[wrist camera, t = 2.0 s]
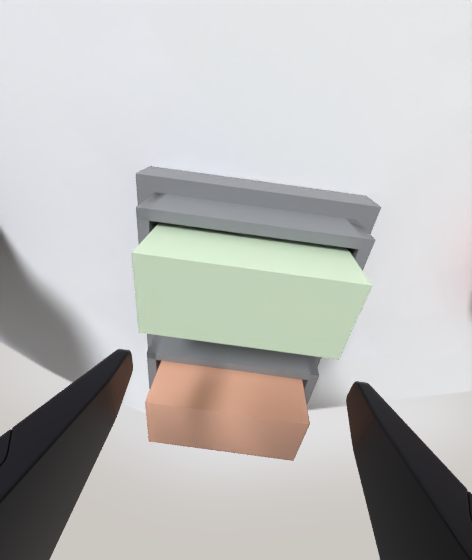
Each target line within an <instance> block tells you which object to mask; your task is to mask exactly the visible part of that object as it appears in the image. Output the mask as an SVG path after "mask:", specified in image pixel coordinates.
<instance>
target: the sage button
mask: <svg viewBox="0 0 472 560" xmlns="http://www.w3.org/2000/svg"><path fill="white" fill-rule="evenodd" d="M132 262H133V273H134V284H135V295H136V306H137V317H138V328H139V333H146V334H153V335H161V336H168V337H176V338H183V339H190V340H198V341H205V342H213V343H220V344H227V345H235V346H242V347H250V348H257V349H264V350H272V351H279V352H287V353H294V354H301V355H309V356H316V357H324V358H331V359H338V360H339V358H340V356H341V354H342V351H343V349H344V347H345V345H346V343H347V340H348V338H349V336H350V334H351V332H352V329H353V327H354V325H355V323H356V320H357V318H358V316H359V314H360V312H361V309H362V307H363V305H364V303H365V300H366V298H367V296H368V294H369V292H370V289H371V287H372V284H371V283H370V281H369V280H368V278H367V277H366V275H365V274H364V272H363V271H362V269H361V268H360V267H359V265H358V264H357V262H356V261H355V259H354V258H353V256H352V255H351V253H350V252H349V250H348V249H347V248H346V247H338V246H331V245H324V244H316V243H309V242H302V241H294V240H287V239H280V238H273V237H265V236H258V235H251V234H243V233H236V232H229V231H221V230H214V229H207V228H199V227H192V226H185V225H177V224H170V223H163V222H159V223H158V224H157V225H156V227H155V228H154V229H153V230H152V231H151V232H150V233H149V234H148V235H147V236H146V237H145V239H144V240H143V241H142V242H141V243H140V244H139V245H138V246H137V247H136V248H135V250H134V251H133V252H132Z"/></svg>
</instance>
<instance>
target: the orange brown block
mask: <svg viewBox="0 0 472 560" xmlns="http://www.w3.org/2000/svg"><path fill="white" fill-rule="evenodd" d="M145 405H146V416H147V427H148V438H149V441H150V442H158V443H165V444H172V445H180V446H187V447H195V448H202V449H210V450H217V451H225V452H233V453H240V454H247V455H255V456H263V457H271V458H278V459H285V460H292V461H293V460H294V458H295V456H296V454H297V451H298V449H299V447H300V445H301V442H302V440H303V438H304V436H305V434H306V431H307V429H308V427H309V425H310V422H309V416H308V411H307V405H306V399H305V393H304V387H303V381H302V379H296V378H288V377H281V376H273V375H266V374H258V373H251V372H244V371H236V370H229V369H221V368H214V367H207V366H199V365H192V364H184V363H177V362H169V361H162V360H161V363H160V365H159V368H158V371H157V373H156V376H155V378H154V381H153V383H152V386H151V388H150V391H149V394H148V396H147V399H146V401H145Z"/></svg>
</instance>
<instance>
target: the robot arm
mask: <svg viewBox="0 0 472 560" xmlns="http://www.w3.org/2000/svg"><path fill="white" fill-rule="evenodd" d="M132 371H133V363H132V354H131V351H129V350H124V349H118V350H116V351H115V352H113V353H112V354H111V355H109V356H108V357H107V358H105V359H104V360H103V361H101V362H100V363H99V364H97V365H96V366H95V367H93V368H92V369H91V370H89V371H88V372H87V373H85V374H84V375H83V376H81V377H80V378H79V379H77V380H76V381H74V382H73V383H72V384H70V385H69V386H68V387H66V388H65V389H64V390H62V391H61V392H60V393H58V394H57V395H56V396H54V397H53V398H52V399H50V400H49V401H48V402H46V403H45V404H44V405H42V406H41V407H40V408H38V409H37V410H36V411H34V412H33V413H32V414H30V415H29V416H28V417H26V418H25V419H24V420H22V421H21V422H19V423H18V424H17V425H15V426H14V427H13V428H12V430H9V431H7V432H6V433H5V434H3V435H2V436H1V437H0V560H49V559H50V557H51V555H52V553H53V551H54V549H55V547H56V544H57V542H58V540H59V538H60V536H61V534H62V532H63V529H64V527H65V525H66V523H67V521H68V519H69V517H70V514H71V513H72V511H73V508H74V506H75V504H76V502H77V500H78V498H79V496H80V493H81V492H82V489H83V487H84V485H85V483H86V481H87V479H88V477H89V475H90V472H91V470H92V468H93V466H94V464H95V462H96V460H97V458H98V456H99V453H100V451H101V449H102V447H103V445H104V442H105V441H106V439H107V436H108V434H109V432H110V430H111V428H112V426H113V424H114V422H115V419H116V417H117V414H118V411H119V409H120V406H121V403H122V400H123V397H124V395H125V392H126V389H127V386H128V383H129V380H130V377H131V375H132ZM346 403H347V410H348V417H349V425H350V432H351V439H352V445H353V451H354V455H355V459H356V463H357V467H358V471H359V475H360V479H361V484H362V487H363V492H364V496H365V499H366V504H367V508H368V511H369V515H370V520H371V524H372V528H373V532H374V536H375V540H376V544H377V548H378V552H379V556H380V560H472V494H471V493H470V492H467V489H466V487H465V486H464V485H463V484H462V483H461V482H460V481H459V480H458V479H457V478H456V477H455V476H454V475H453V473H451V471H450V470H449V469H448V468H447V467H446V466H445V465H444V464H443V463H442V462H441V461H440V460H439V458H438V457H437V456H436V455H435V454H434V453H433V452H432V451H431V450H430V449H429V448H428V447H427V446H426V444H424V442H423V441H422V440H421V439H420V438H419V437H418V436H417V435H416V434H415V433H414V432H413V431H412V430H411V428H410V427H409V426H408V425H407V424H406V423H405V422H404V421H403V420H402V419H401V418H400V417H399V416H398V415H397V413H396V412H395V411H394V410H393V409H392V408H391V407H390V406H389V405H388V404H387V403H386V402H385V401H384V399H383V398H382V397H381V396H380V395H379V394H378V393H377V392H376V391H375V390H374V389H373V388H372V387H371V386H370V385H369V384H368V383H365V382H358V381H356V382H355V383H354V384H353V386H352V387H351V389H350V391H349V393H348V395H347V399H346Z"/></svg>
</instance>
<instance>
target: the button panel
mask: <svg viewBox="0 0 472 560" xmlns="http://www.w3.org/2000/svg"><path fill="white" fill-rule="evenodd" d="M136 185H137V199H138V206H137V207H136V214H137V227H138V241H139V244H140V243H141V242H142V241H143V240H144V239H145V237H146V236H147V235H148V234H149V233H150V232H151V231H152V230H153V229H154V228H155V227H156V225H157V224H158V223H159V222H163V223H170V224H177V225H185V226H192V227H199V228H207V229H214V230H221V231H229V232H236V233H243V234H251V235H258V236H265V237H273V238H280V239H287V240H294V241H302V242H309V243H316V244H324V245H331V246H338V247H346V248H347V249H348V250H349V252H350V253H351V255H352V256H353V258H354V259H355V261H356V262H357V264H358V265H359V267H360V268H361V269H362V271H363V268H364V266H365V264H366V261H367V259H368V256H369V254H370V252H371V249H372V247H373V244H374V242H375V239H374V238H373V237H372V236H371V235H370V234H371V231H372V229H373V226H374V224H375V221H376V219H377V216H378V214H379V211H380V209H381V207H380V206H379V205H378V204H376V203H375V202H373V201H372V200H371V199H369V198H368V197H367V196H363V195H355V194H348V193H341V192H333V191H326V190H319V189H312V188H304V187H297V186H290V185H283V184H275V183H268V182H261V181H253V180H246V179H239V178H232V177H224V176H217V175H210V174H202V173H195V172H188V171H181V170H173V169H166V168H159V167H152V166H150V167H148V168H146V169H144V170H142V171H140V172H138V173H136ZM147 341H148V351H147V361H148V375H149V388H151V386H152V383H153V381H154V378H155V376H156V373H157V371H158V368H159V365H160V363H161V360H162V361H169V362H177V363H184V364H192V365H199V366H207V367H214V368H221V369H229V370H236V371H244V372H251V373H258V374H266V375H273V376H281V377H288V378H296V379H302V381H303V387H304V393H305V399H306V405H307V403H308V401H309V399H310V396H311V394H312V391H313V389H314V387H315V384H316V382H317V379H318V377H319V373H318V369H317V366H318V364H319V361H320V359H321V357H316V356H309V355H301V354H294V353H287V352H279V351H272V350H264V349H257V348H250V347H242V346H235V345H227V344H220V343H213V342H205V341H198V340H190V339H183V338H176V337H168V336H161V335H153V334H147Z"/></svg>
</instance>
